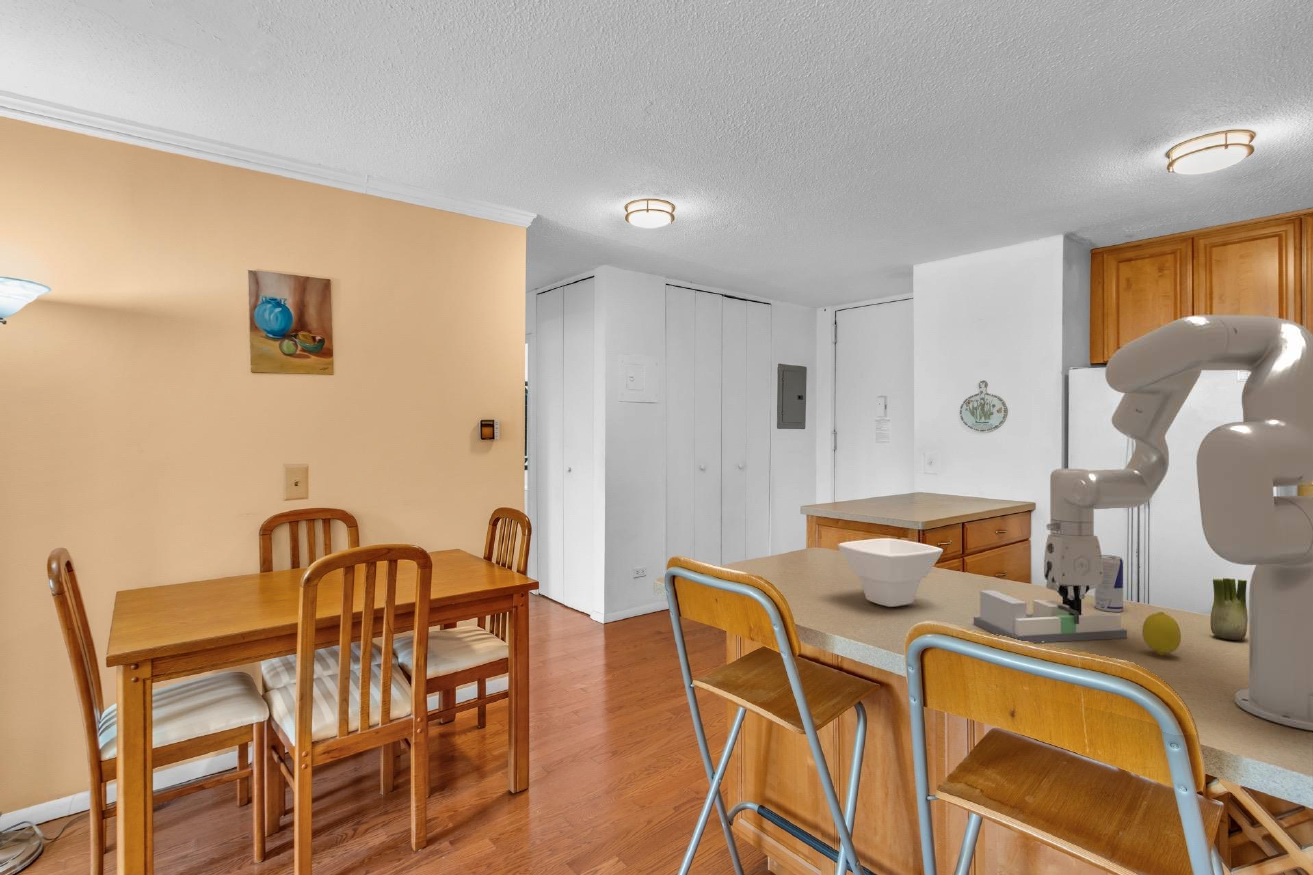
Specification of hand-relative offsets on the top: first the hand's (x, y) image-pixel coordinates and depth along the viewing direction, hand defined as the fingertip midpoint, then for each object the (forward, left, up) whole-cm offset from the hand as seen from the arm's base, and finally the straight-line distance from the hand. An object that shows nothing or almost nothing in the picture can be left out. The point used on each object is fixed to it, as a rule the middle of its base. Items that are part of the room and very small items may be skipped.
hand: (1071, 616), depth 132 cm
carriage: (-2, +5, -1) cm, 5 cm away
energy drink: (+12, -19, -3) cm, 23 cm away
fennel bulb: (-10, -25, -3) cm, 27 cm away
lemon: (-16, -4, -3) cm, 17 cm away
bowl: (+24, +28, -3) cm, 37 cm away
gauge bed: (0, +6, -3) cm, 6 cm away
